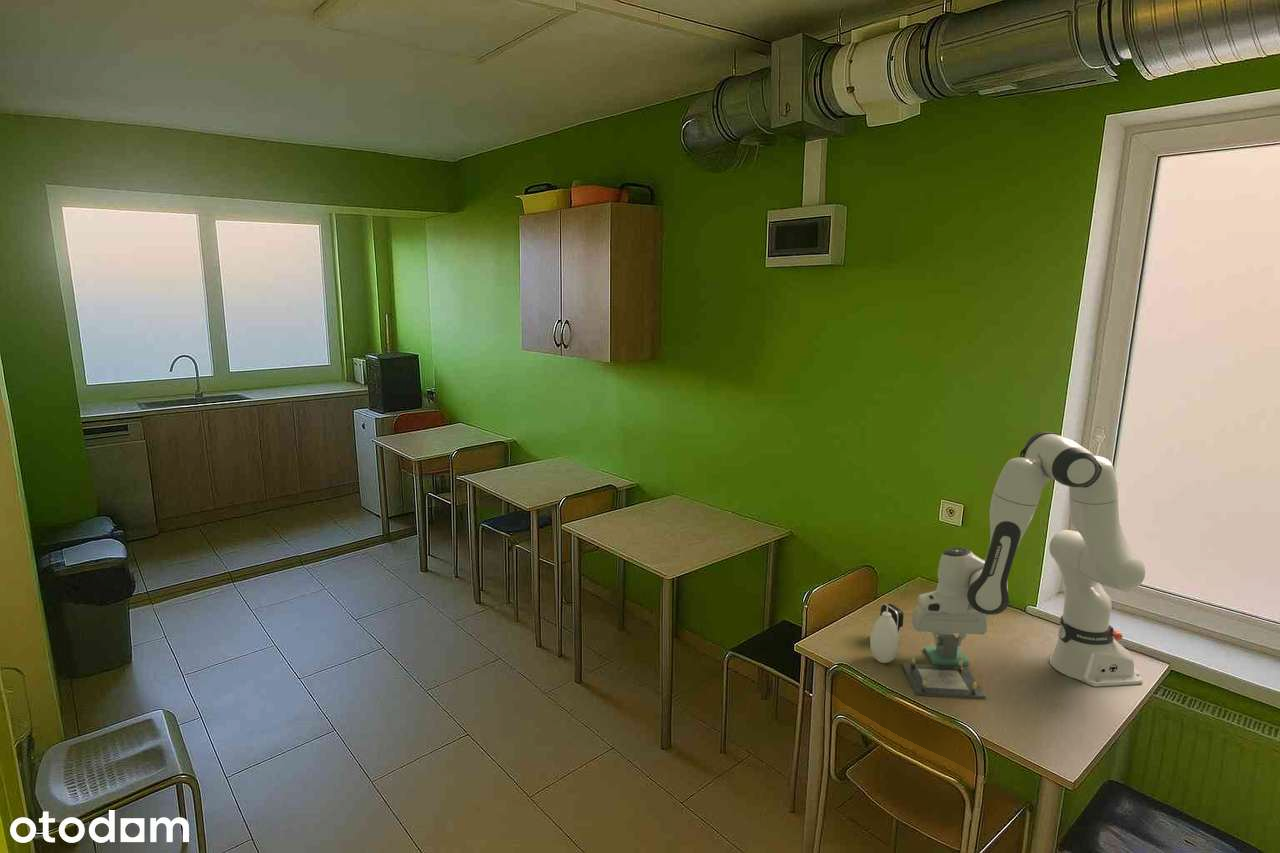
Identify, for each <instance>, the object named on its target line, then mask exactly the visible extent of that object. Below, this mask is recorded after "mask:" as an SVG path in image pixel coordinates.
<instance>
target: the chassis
mask: <svg viewBox="0 0 1280 853" xmlns="http://www.w3.org/2000/svg"><path fill="white" fill-rule="evenodd" d="M916 663H917V657H916V656H914V655H913V656H911V659H910V663H902V665H901V667H902V669H903V670H904V673H905V675H906V677H907V679H908V681H909V683H910V685H911V688H912V690H913V692H914V695H915V696H927V697H928V696H930V697H943V698H944V697H946V698H947V697H948V698H961V699H962V698H963V699H976V700H977V699H978V700H979V699H981V700H982V699H983V700H985V699H987V698H986V697H987V696H986V694H985V693H984V691H983V690H982V687H981V686H980V685H979V682H978V681H977V680H976V679H975V677H974V676H973V674H972V672H971V670H970V669H969V667H968V666H964V665H963V659H959V662H958V665H937V664H919V663H918V664H916Z"/></svg>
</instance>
